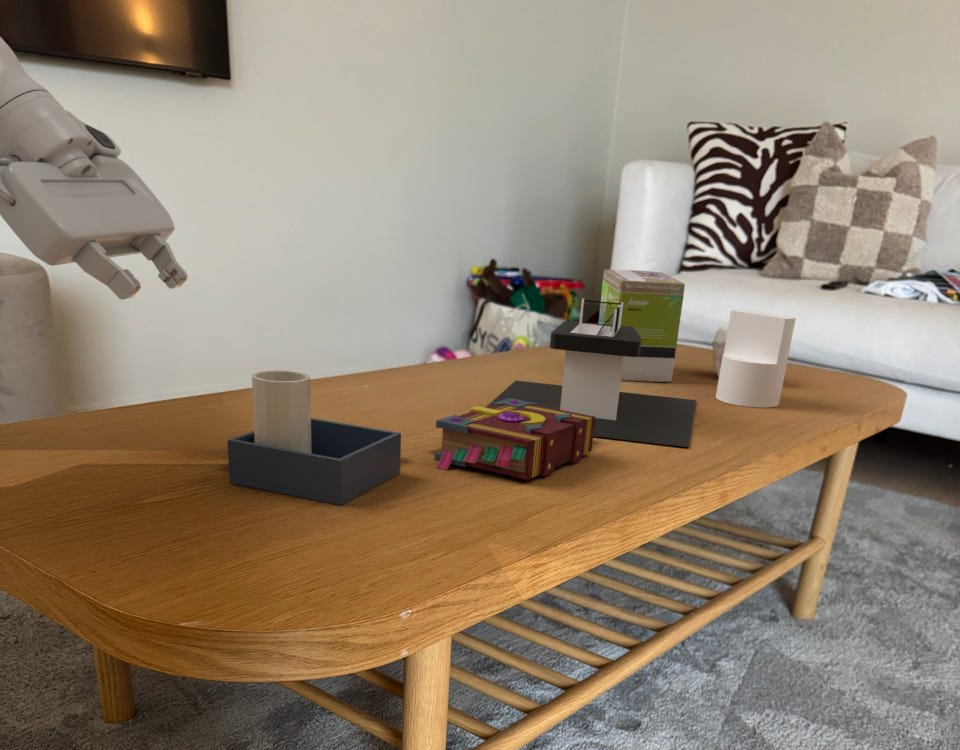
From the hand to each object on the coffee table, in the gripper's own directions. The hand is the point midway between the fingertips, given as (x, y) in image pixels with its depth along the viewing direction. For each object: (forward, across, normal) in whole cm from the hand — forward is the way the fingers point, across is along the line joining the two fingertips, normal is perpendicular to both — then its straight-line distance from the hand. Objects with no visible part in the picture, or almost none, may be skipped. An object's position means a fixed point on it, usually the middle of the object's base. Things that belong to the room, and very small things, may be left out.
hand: (157, 288), depth 85 cm
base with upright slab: (+54, +59, -31) cm, 86 cm away
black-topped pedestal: (+39, +42, -16) cm, 60 cm away
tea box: (+42, +73, -19) cm, 87 cm away
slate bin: (+22, +1, +1) cm, 22 cm away
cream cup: (+19, 0, +3) cm, 19 cm away
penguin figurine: (+55, +76, -32) cm, 99 cm away
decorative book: (+34, +14, -11) cm, 39 cm away
